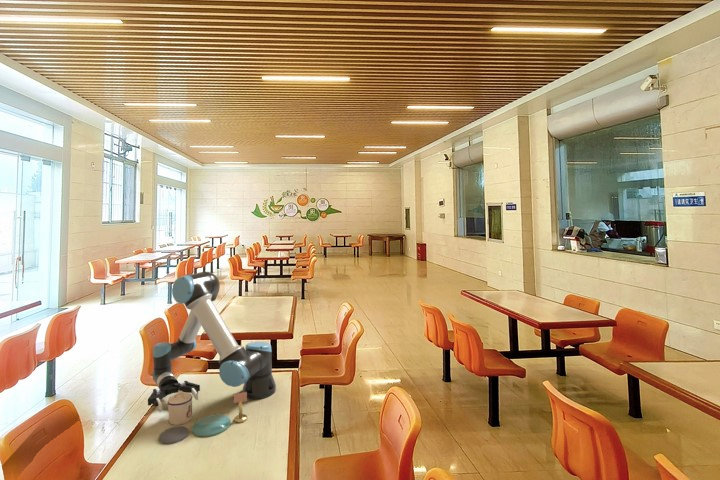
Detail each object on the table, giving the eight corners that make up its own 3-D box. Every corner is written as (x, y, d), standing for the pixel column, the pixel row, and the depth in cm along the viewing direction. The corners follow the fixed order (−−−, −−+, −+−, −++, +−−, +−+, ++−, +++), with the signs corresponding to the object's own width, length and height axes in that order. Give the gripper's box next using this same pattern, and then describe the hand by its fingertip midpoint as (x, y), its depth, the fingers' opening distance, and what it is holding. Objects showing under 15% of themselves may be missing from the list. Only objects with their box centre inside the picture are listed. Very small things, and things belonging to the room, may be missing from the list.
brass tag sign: (247, 415, 151) (246, 389, 150) (247, 421, 146) (247, 394, 146) (234, 417, 149) (233, 391, 149) (234, 424, 145) (233, 396, 144)
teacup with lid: (191, 423, 145) (190, 395, 145) (166, 427, 142) (165, 398, 142) (195, 408, 157) (194, 382, 156) (171, 411, 154) (170, 385, 153)
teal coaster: (230, 413, 152) (230, 411, 152) (230, 432, 139) (230, 430, 139) (193, 420, 147) (193, 418, 147) (190, 440, 134) (190, 438, 134)
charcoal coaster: (190, 426, 143) (190, 424, 143) (187, 440, 134) (187, 438, 134) (161, 431, 140) (161, 429, 140) (156, 446, 131) (156, 444, 131)
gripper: (196, 383, 174) (211, 400, 157) (136, 400, 158) (145, 421, 142) (196, 368, 173) (210, 384, 157) (135, 383, 157) (144, 403, 141)
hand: (179, 402), depth 149 cm, fingers open, 13 cm apart
